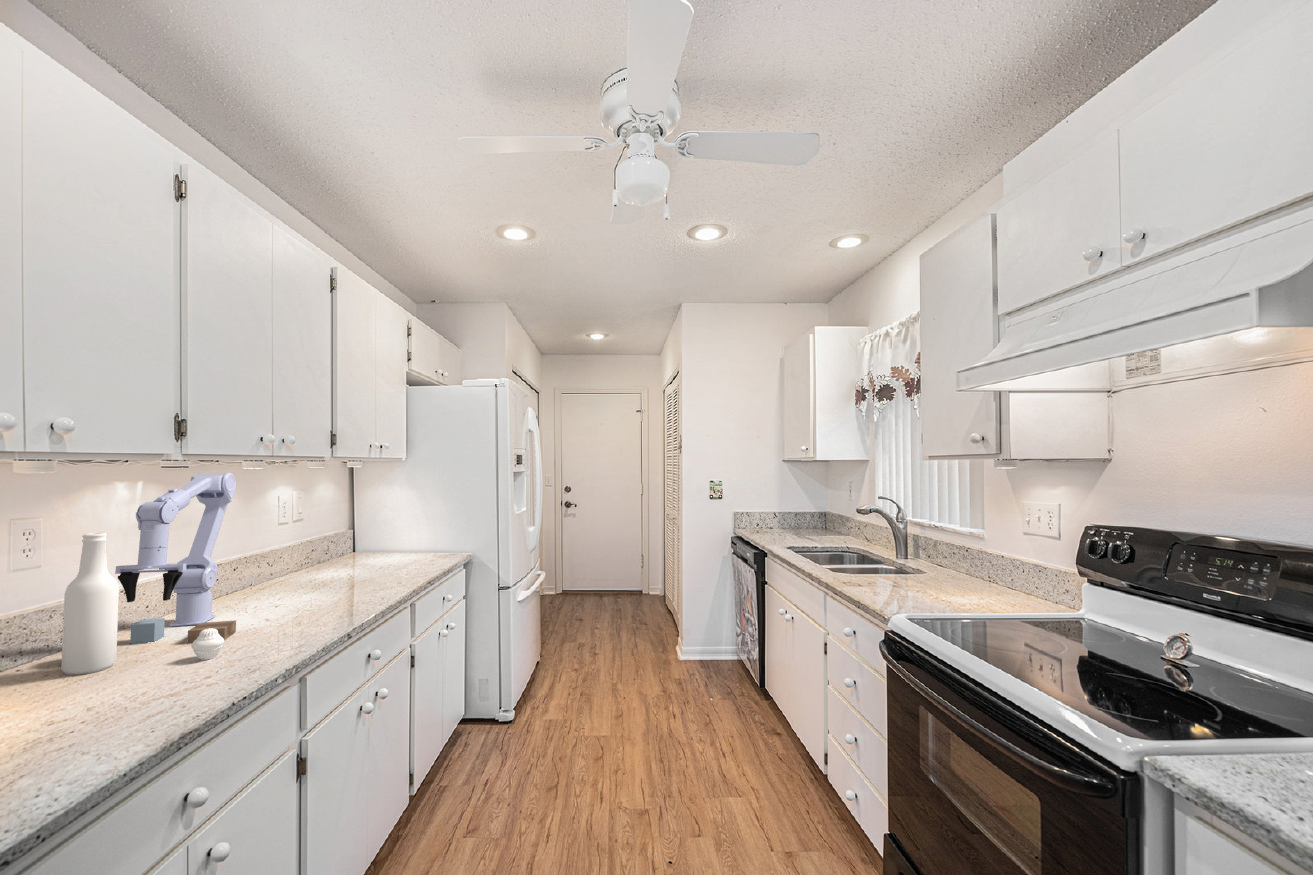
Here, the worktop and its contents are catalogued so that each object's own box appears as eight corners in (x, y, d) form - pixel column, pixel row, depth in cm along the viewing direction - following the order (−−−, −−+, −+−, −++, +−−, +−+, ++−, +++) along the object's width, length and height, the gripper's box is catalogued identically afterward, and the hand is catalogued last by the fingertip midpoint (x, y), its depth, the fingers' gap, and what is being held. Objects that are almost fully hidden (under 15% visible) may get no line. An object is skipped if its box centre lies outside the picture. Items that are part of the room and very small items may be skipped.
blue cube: (141, 639, 154) (141, 619, 154) (163, 637, 155) (164, 618, 155) (130, 644, 149) (131, 624, 149) (154, 642, 150) (154, 623, 151)
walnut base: (200, 636, 157) (201, 622, 157) (235, 633, 160) (236, 620, 160) (187, 644, 150) (187, 630, 150) (224, 641, 152) (224, 628, 152)
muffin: (230, 654, 141) (231, 624, 141) (207, 663, 135) (208, 632, 135) (208, 653, 142) (209, 623, 142) (184, 661, 136) (185, 631, 136)
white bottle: (124, 665, 133) (130, 532, 135) (74, 678, 125) (80, 536, 126) (102, 660, 137) (107, 530, 138) (52, 673, 128) (58, 534, 130)
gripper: (110, 549, 148) (105, 605, 146) (179, 547, 152) (174, 601, 151) (126, 547, 155) (121, 600, 153) (191, 546, 159) (187, 597, 157)
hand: (148, 600), depth 152 cm, fingers open, 7 cm apart
